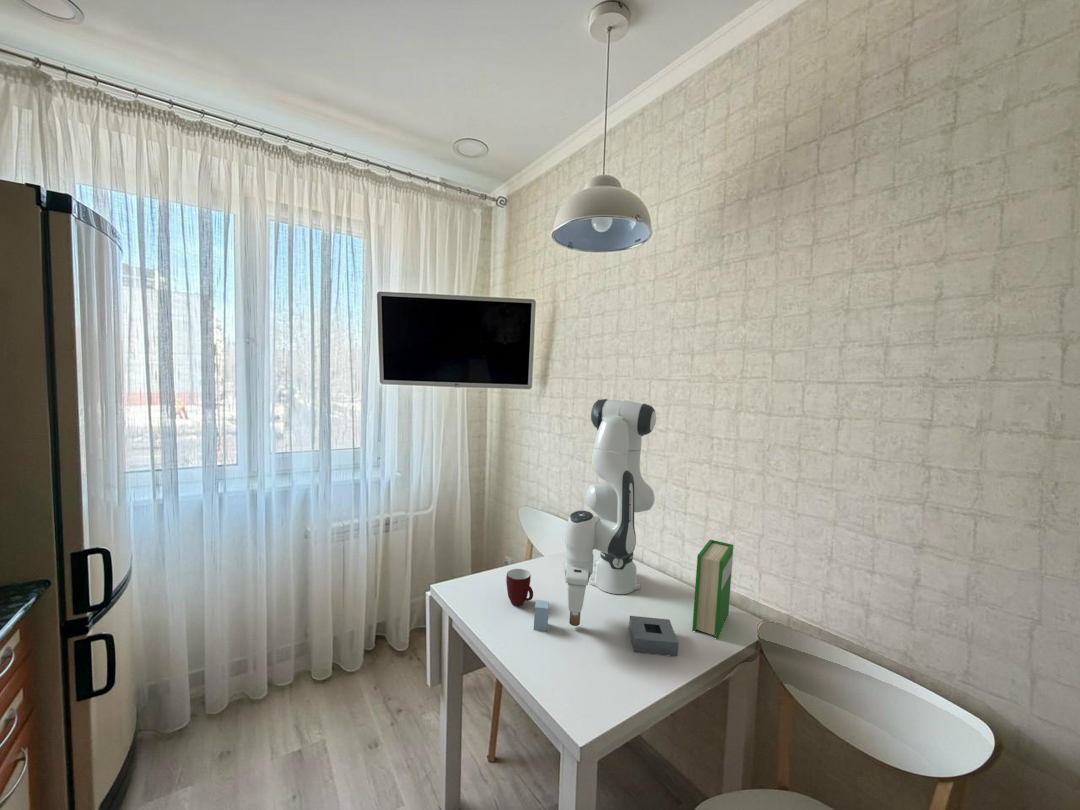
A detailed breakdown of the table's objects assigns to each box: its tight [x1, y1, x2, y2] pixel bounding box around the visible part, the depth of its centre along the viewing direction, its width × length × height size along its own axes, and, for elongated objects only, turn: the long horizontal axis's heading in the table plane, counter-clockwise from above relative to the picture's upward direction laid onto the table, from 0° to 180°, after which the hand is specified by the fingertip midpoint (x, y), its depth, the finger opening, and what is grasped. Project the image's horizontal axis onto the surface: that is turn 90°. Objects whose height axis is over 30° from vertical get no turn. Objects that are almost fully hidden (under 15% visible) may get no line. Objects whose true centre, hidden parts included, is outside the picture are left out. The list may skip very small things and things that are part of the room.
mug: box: [505, 568, 534, 607], centre depth 143 cm, size 10×8×10 cm
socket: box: [628, 615, 679, 657], centre depth 126 cm, size 12×12×4 cm
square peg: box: [533, 600, 550, 632], centre depth 131 cm, size 4×4×7 cm
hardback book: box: [691, 539, 734, 640], centre depth 137 cm, size 18×7×24 cm, turn 147°
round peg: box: [568, 611, 582, 627], centre depth 130 cm, size 3×3×9 cm
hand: (575, 609), depth 130 cm, fingers closed on round peg, 3 cm apart
